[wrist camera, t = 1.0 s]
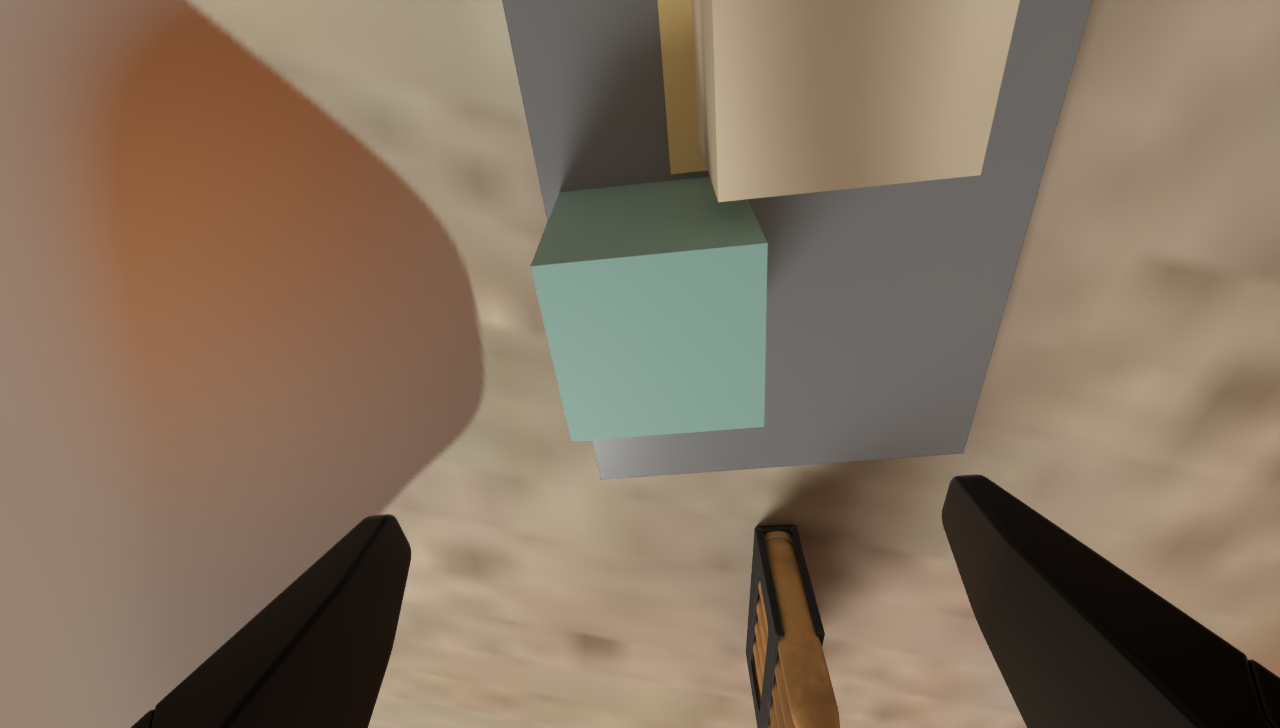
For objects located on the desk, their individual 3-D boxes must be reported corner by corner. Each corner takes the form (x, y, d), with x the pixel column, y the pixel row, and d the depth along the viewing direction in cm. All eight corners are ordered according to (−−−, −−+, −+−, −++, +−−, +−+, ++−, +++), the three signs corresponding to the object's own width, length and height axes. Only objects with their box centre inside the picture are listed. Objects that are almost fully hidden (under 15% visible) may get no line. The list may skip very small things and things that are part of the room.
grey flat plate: (1147, -312, 11) (1191, -338, 11) (951, 435, 23) (964, 455, 22) (468, -209, 12) (455, -222, 11) (601, 462, 24) (600, 481, 23)
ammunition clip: (754, 524, 26) (824, 868, 16) (796, 523, 26) (892, 867, 16) (745, 653, 32) (791, 960, 22) (779, 652, 32) (841, 960, 22)
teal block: (735, 173, 16) (767, 243, 12) (737, 327, 19) (764, 426, 15) (558, 192, 16) (530, 266, 12) (587, 340, 19) (571, 442, 15)
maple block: (919, -127, 12) (1059, -179, 8) (887, 120, 15) (980, 175, 11) (687, -96, 13) (707, -129, 8) (698, 141, 15) (718, 202, 11)
